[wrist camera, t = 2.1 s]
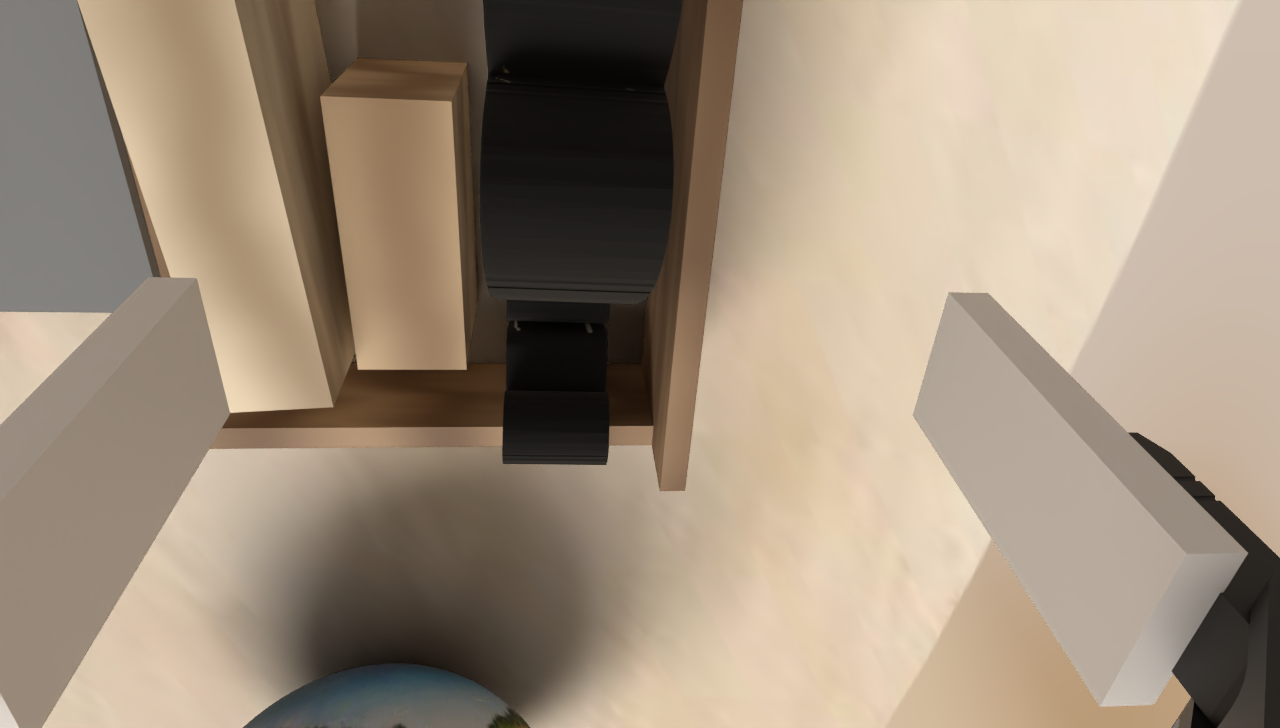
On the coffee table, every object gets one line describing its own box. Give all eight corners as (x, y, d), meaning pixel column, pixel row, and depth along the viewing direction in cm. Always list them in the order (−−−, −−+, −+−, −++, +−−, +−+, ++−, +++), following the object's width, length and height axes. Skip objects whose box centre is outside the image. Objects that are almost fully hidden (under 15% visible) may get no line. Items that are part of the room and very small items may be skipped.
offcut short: (385, 297, 35) (357, 369, 30) (358, 57, 30) (320, 96, 25) (478, 298, 36) (466, 369, 31) (467, 62, 31) (451, 101, 26)
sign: (524, -192, 30) (486, -867, 10) (611, -183, 30) (735, -815, 11) (514, 390, 35) (476, 673, 15) (588, 391, 35) (643, 669, 16)
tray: (223, 381, 37) (150, 498, 30) (30, -412, 23) (-190, -531, 16) (661, 381, 39) (684, 490, 32) (725, -340, 25) (791, -416, 18)
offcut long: (280, 307, 35) (216, 413, 28) (167, -121, 27) (38, -117, 20) (374, 303, 35) (333, 407, 29) (292, -121, 27) (205, -117, 20)
